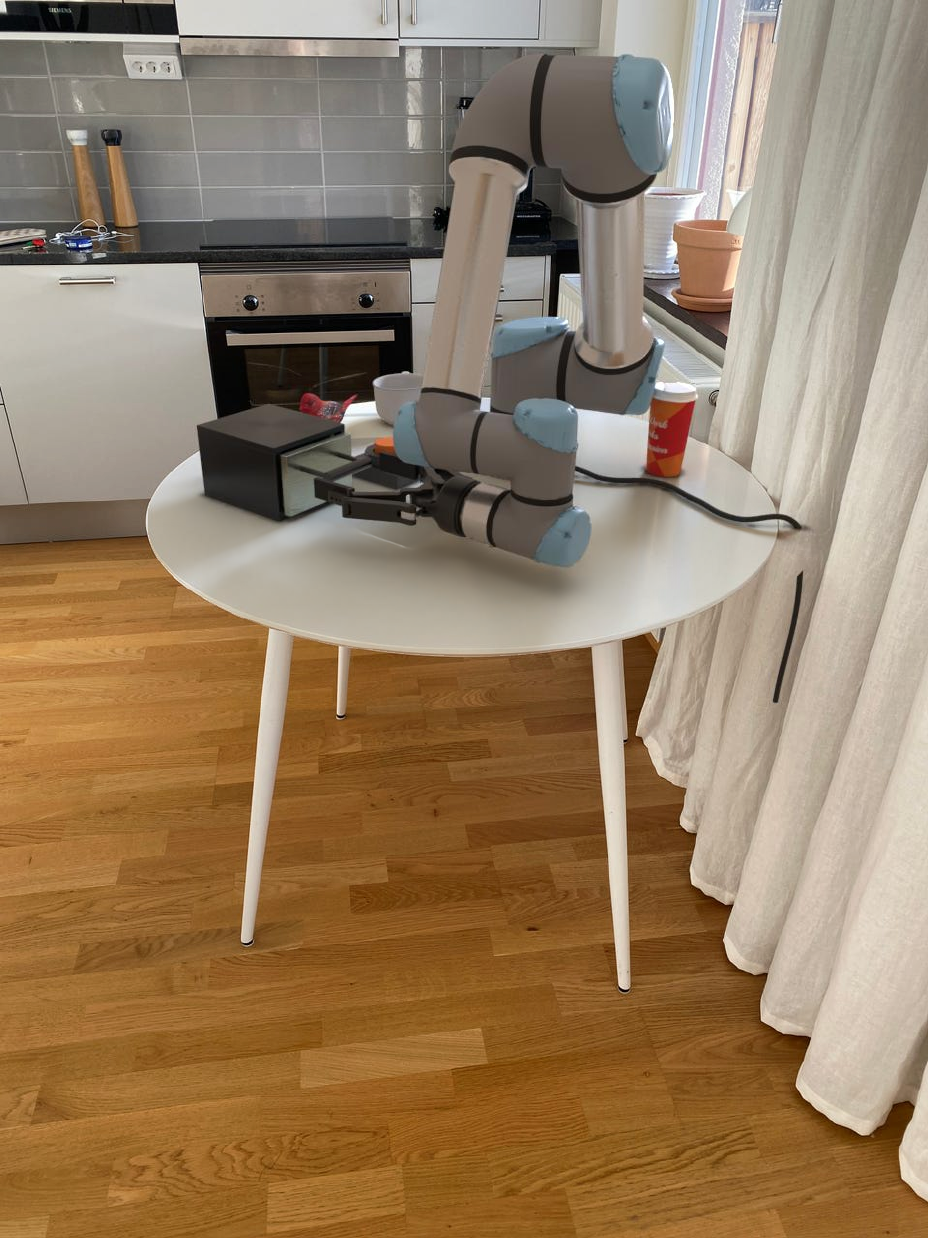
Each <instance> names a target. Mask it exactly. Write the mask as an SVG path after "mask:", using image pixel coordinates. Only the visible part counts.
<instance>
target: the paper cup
mask: <svg viewBox="0 0 928 1238" xmlns="http://www.w3.org/2000/svg"><path fill="white" fill-rule="evenodd" d="M698 399H699V395H698V392H697V387H696V386H694V385H692V384H689V383H686V382H680V381H676V382H673V381H665V382H663V381H660V382H656V385H655V389H654V393H653V397H652V400H651V404H650V407H649V419H648V433H647V449H646V462H645V463H646V464H645V465H646V468H645V469H646V470H645V471H647V473H649V474H650V475H653V476H656V477H664V478H665V477H666V478H671V477H677V476H678V475H680V474H681V470H682V466H683V462H684V457H685V453H686V448H687V443H688V439H689V434H690V428H691V425H692V419H693V414H694V409H695V406H696V401H697V400H698Z"/></svg>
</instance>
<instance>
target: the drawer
mask: <svg viewBox="0 0 928 1238" xmlns="http://www.w3.org/2000/svg"><path fill="white" fill-rule="evenodd" d="M279 461H280V475H281V489H282V503H283V508H284V511H285V515H287V516H290V517H289V518H291V517H294V516H295V515H299V514H301V513H303V512H305V511H308V510H310V509H312V508H315V507H317V506H319V505H322V504H324V503H327V501H324V500H321V499H318V498H315V491H314V478H316V477H319V478H323V479H326V480H329V481H332V482H336V483H339V484H342V485H345V486H349V487H350V486H352V488H354V487H353V476H352V474H354V473H357V472H359V471H362V470H364V469H367V468H369V467H371V466H372V460H371V458H370V457H368V456H366V457H363V458H357V457H355V456H354V455H352V433H350V432H346V431H345V432H344V433H341V434H338V435H335V436H334V434H331V435H328V436H325V437H323V438H320V439H317V440H314V441H311V442H308V443H305V444H303V445H300V446H297V447H294V448H291V449H288V450H286V451H283V452H280V453H279Z"/></svg>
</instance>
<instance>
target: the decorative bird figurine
mask: <svg viewBox="0 0 928 1238" xmlns="http://www.w3.org/2000/svg"><path fill="white" fill-rule="evenodd" d="M357 397H358V394H357V393H356V394H354V395H352V396H351V397H350V398H348V399H347V400H345V401H344V402H343V403H341V402H337V401H332V400H321V398H319V396H317V395H316V394H314V393H310V392H306V393H304V394H303V395H302V397H301V399H300V406H299V409H298V410H299V411H298V412H301V413H305V414H309V415H313V416H316V417H320V418H324V419H328V420H331V421H335V422H339V423H342V421H343V419H344V417H345V414H346V411H347V410H348V408H349V407H350V405H351V404H352V403H353V402H354V401H355V399H356V398H357Z"/></svg>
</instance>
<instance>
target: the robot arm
mask: <svg viewBox="0 0 928 1238" xmlns="http://www.w3.org/2000/svg"><path fill="white" fill-rule="evenodd" d="M674 103H675V102H674V93H673V85H672V81H671V77H670V74H669V71H668V69H667V67H666V66H665V65H664V64H663V63H662V62H661V61H660V60H659V59H657V58H653V57H644V56H634V55H632V54H628V53H626V54H625V53H624V54H620V55H619V56H612V55H611V56H610V55H609V56H607V55H570V54H569V55H568V54H557V55H555V54H554V55H551V54H547V53H536V54H535V53H534V54H528V55H525V56H522V57H519V58H517V59H515V60H513V61H511V62H509V63H507V64H506V65H505V66H502V68H501V69H499V70H498V71H497V72H495V74H493V75H492V77H491V78H490V79H489V80H487V82H485V84H484V85H483V86H482V88H481V89H480V90H479V92H478V93H477V94H476V95H475V97H474V98H473V100H472V102H471V103H470V105H469V107H467V110H466V112H465V114H464V115H463V118H462V119H461V122H460V124H459V126H458V128H457V132H456V135H455V138H454V141H453V144H452V147H451V152H450V159H449V164H448V174H449V177H450V178H451V179H452V181H453V182H454V188H453V193H452V199H451V200H452V201H451V204H450V210H449V218H448V224H447V230H446V235H445V242H444V246H443V247H444V248H443V252H442V259H441V265H440V271H439V278H438V283H437V290H436V296H435V301H434V307H433V314H432V320H431V326H430V332H429V338H428V344H427V345H428V346H427V349H426V356H425V361H424V369H423V374H422V375H423V380H422V386H421V394H420V398H419V401H418V402H408V403H405V404H403V405H402V406H401V408H400V409H399V411H398V416H397V418H396V419H395V422H394V426H393V431H392V438H393V444H394V449H395V452H396V454H397V455H395V454H392V453H388V452H384V451H381V452H379V460H380V470H381V471H384V472H388V473H391V474H395V475H398V476H402V477H405V478H409V479H412V480H417V479H418V475H420V480H419V483H420V485H418V486H417V487H402V488H400V490H398V491H397V490H396V491H395V490H394V491H393V490H392V491H355V490H356V489H355V488H354V487H353V485H352V486H350V487H349V486H345V485H342V484H339V483H336V482H332V481H329V480H326V479H323V478H319V477H316V478H314V491H315V498H318V499H321V500H324V501H327V502H328V503H330V504H333V505H336V506H339V507H341V517H342V519H343V518H344V519H350V520H351V519H353V520H362V521H363V520H364V521H374V522H375V521H376V522H385V523H386V522H387V523H399V524H402V525H406V526H411V527H413V526H416V525H417V518H419V517H421V518H431V519H433V520H434V522H435V523H436V525H437V527H438V528H439V529H440V530H441V531H442V532H444V533H448V534H451V535H453V536H457V537H460V538H464V539H465V538H466V539H469V540H471V541H474V542H477V543H480V544H484V545H487V546H488V547H489V548H491V549H494V548H497V549H499V550H502V551H505V552H508V553H511V554H514V555H517V556H520V557H524V558H526V559H530V560H533V561H535V563H538V564H545V565H548V566H552V567H558V568H570V567H573V566H574V565H575V564H577V563H578V562H579V561H581V559H582V557H584V555H585V553H586V550H587V548H588V546H589V543H590V540H591V536H592V523H591V517H590V514H589V513H588V512H587V511H586V510H584V509H581V508H579V506H576V505H574V494H573V492H574V483H575V472H577V473H579V474H582V475H585V476H587V477H588V478H592V479H593V480H596V481H599V482H605V483H614V484H647V485H648V484H649V485H653V486H658V487H661V488H664V489H667V490H670V491H672V492H674V493H676V494H678V495H679V496H681V497H683V498H684V499H687V500H688V501H690V502H692V503H695V504H697V505H698V506H701V507H702V508H704V509H705V510H707V511H708V512H710V513H712V514H714V515H716V516H717V517H719V518H722V519H726V520H728V521H732V522H737V523H746V524H747V523H748V524H749V523H758V522H764V521H772V520H773V521H774V520H775V521H776V520H779V521H784V522H787V523H788V524H790V525H791V526H792V527H793V528H794V529H798V530H802V529H803V526H802V525H801V524H800V522H799V521H797V520H796V519H795V518H793V517H792V516H790V515H787V514H784V513H768V514H767V513H766V514H760V515H753V516H741V515H736V514H732V513H728V512H727V511H723V510H721V509H719V508H717V507H715V506H713V505H712V504H710V503H708V502H707V501H705V500H704V499H701V498H700V497H697V496H695V495H693V494H691V493H689V492H687V491H686V490H683V489H682V488H680V487H678V486H676V485H675V484H672V483H670V482H668V481H667V482H666V481H664V480H660V479H655V478H649V477H615V476H606V475H602V474H598V473H596V472H593V471H591V470H588V469H586V468H584V467H581V466H578V465H576V462H577V453H578V449H579V443H578V432H579V431H578V430H579V429H578V428H579V427H578V426H579V414H578V411H577V410H583V411H589V412H591V411H592V412H598V413H605V414H612V415H619V416H626V415H627V416H642V415H644V414H646V413H647V412H648V411H649V410H650V404H651V400H652V397H653V393H654V389H655V385H656V383H657V380H658V377H659V372H660V368H661V365H662V360H663V355H664V351H665V345H666V344H665V342H664V340H662V339H659V338H658V337H654V331H653V327H652V325H651V324H650V323H649V321H648V320H647V319H646V318H645V317H644V278H645V277H644V276H645V274H644V273H645V271H644V270H645V268H644V267H645V209H646V207H645V204H646V203H645V202H646V201H645V199H646V198H645V197H646V192H647V191H648V190H649V189H651V187H652V186H653V185H654V183H655V181H656V180H657V177H658V174H659V173H663V172H664V170H665V169H666V168H667V166H668V164H669V162H670V158H671V153H672V148H673V140H674V125H673V124H674V121H675V107H674V105H675V104H674ZM534 167H538V168H550V169H561V170H560V171H561V182H562V185H563V188H564V190H565V191H566V193H567V194H568V195H569V196H570V197H572V198H573V199H574V200H575V211H576V212H575V213H576V226H577V227H576V229H577V243H578V244H577V245H578V259H579V261H578V262H579V277H580V293H581V310H582V322H581V323H580V325H579V326H578V328H577V329H576V330H570V325H569V321H568V319H566V318H564V317H557V316H537V317H529V318H520V319H515V320H511V321H507V322H505V323H503V324H501V325H500V326H498V327H497V328H496V329H495V324H496V318H497V313H498V307H499V300H500V294H501V289H502V283H503V277H504V273H505V266H506V262H507V261H506V260H507V256H508V248H509V243H510V237H511V232H512V226H513V219H514V213H515V208H516V203H517V197H518V195H519V194H520V193H522V192H523V191H525V190H526V189H527V187H528V183H529V177H530V171H531V169H533V168H534ZM494 329H495V331H494ZM491 347H492V352H491ZM489 358H491V368H490V371H491V372H490V399H489V401H490V402H489V411H485V410H481V405H482V399H483V393H484V388H485V382H486V376H487V371H488V365H489ZM462 473H465V474H462ZM466 473H467V474H473V475H479V476H480V475H481V476H486V477H493V478H498V479H504V480H505V479H506V480H510V488H507V487H504V486H500V485H496V484H493V483H490V482H481V481H480V480H476V479H474V478H473V477H472V476H468V475H466ZM417 481H418V480H417ZM352 487H353V488H352ZM407 496H409V497H408V498H409V501H407ZM327 502H326V503H327ZM803 581H804V570H802V571H800V573H798V575H797V576H796V581H795V582H796V584H795V592H794V593H795V594H794V602H793V608H792V615H791V619H790V624H789V628H788V633H787V638H786V641H785V645H784V649H783V654H782V657H781V661H780V665H779V669H778V673H777V678H776V683H775V687H774V690H773V691H774V692H773V696H772V703H774V704H778V703H779V700H780V694H781V689H782V684H783V680H784V676H785V672H786V668H787V664H788V661H789V656H790V653H791V648H792V644H793V641H794V637H795V632H796V628H797V623H798V618H799V614H800V607H801V601H802V594H803Z"/></svg>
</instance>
